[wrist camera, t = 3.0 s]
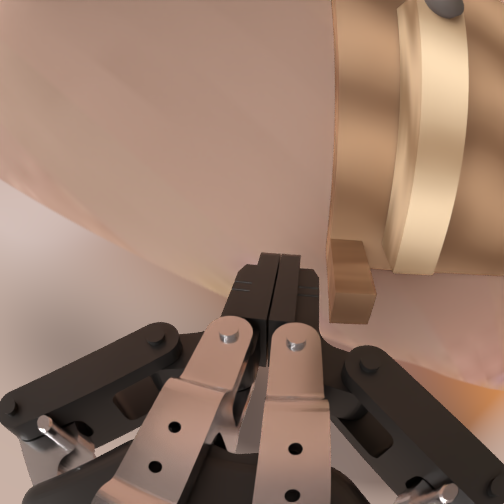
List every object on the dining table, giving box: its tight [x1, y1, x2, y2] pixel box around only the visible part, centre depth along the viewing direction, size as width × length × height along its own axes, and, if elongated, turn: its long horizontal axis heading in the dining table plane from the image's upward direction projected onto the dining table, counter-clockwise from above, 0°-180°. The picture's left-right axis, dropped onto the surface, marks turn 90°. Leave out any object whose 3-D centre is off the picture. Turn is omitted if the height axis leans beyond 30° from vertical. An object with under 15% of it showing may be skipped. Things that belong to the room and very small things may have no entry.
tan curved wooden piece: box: [382, 0, 469, 275], centre depth 10 cm, size 15×2×4 cm, turn 2°
